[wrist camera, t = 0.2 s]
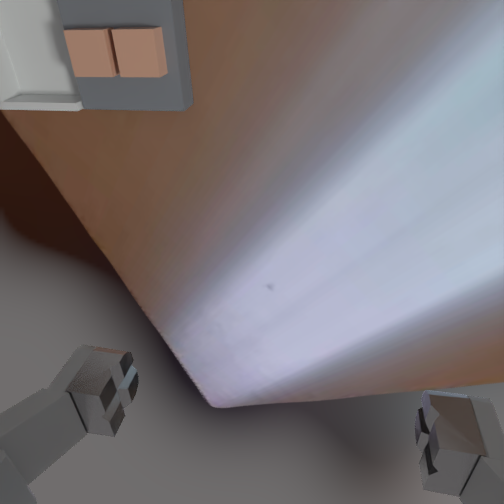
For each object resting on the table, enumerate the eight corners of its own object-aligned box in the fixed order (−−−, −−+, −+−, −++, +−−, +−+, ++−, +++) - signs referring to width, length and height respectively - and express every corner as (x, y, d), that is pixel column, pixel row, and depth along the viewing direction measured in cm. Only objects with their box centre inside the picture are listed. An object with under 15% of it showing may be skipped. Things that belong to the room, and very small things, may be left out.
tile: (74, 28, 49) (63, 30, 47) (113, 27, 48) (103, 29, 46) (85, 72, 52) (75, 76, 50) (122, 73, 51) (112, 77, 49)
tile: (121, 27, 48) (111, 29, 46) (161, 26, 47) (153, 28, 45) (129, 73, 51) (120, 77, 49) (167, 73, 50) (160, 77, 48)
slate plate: (71, -17, 50) (52, -17, 47) (180, -22, 47) (168, -21, 44) (98, 101, 58) (84, 109, 54) (193, 103, 55) (184, 111, 52)
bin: (-16, -14, 52) (-47, -13, 48) (69, -17, 50) (44, -17, 46) (21, 100, 60) (-2, 109, 56) (96, 101, 58) (78, 111, 54)
